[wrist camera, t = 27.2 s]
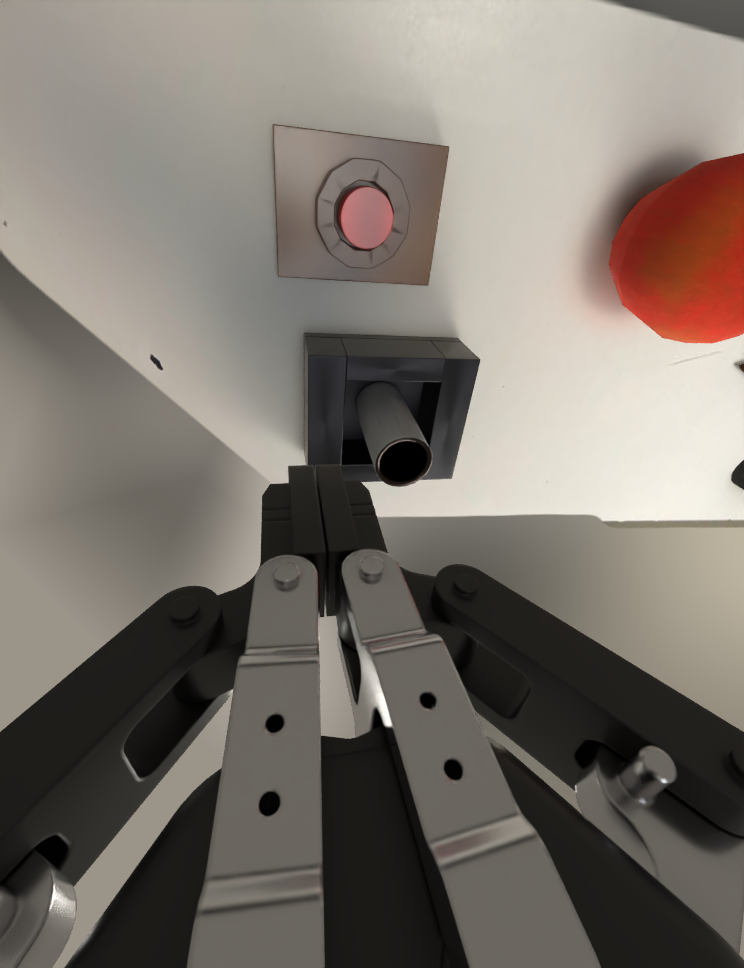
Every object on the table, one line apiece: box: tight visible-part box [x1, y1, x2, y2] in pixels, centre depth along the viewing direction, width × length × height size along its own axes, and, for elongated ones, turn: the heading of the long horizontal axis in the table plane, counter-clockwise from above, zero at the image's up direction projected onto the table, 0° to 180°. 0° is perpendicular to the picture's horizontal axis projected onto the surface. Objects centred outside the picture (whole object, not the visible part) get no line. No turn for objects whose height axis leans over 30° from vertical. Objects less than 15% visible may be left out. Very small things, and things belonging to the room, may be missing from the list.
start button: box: [338, 186, 393, 249], centre depth 30 cm, size 4×4×2 cm
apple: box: [609, 153, 744, 343], centre depth 32 cm, size 12×12×14 cm
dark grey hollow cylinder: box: [356, 382, 432, 487], centre depth 37 cm, size 4×4×10 cm
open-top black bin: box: [304, 333, 480, 482], centre depth 40 cm, size 14×12×6 cm
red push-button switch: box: [273, 124, 449, 285], centre depth 31 cm, size 12×9×3 cm
